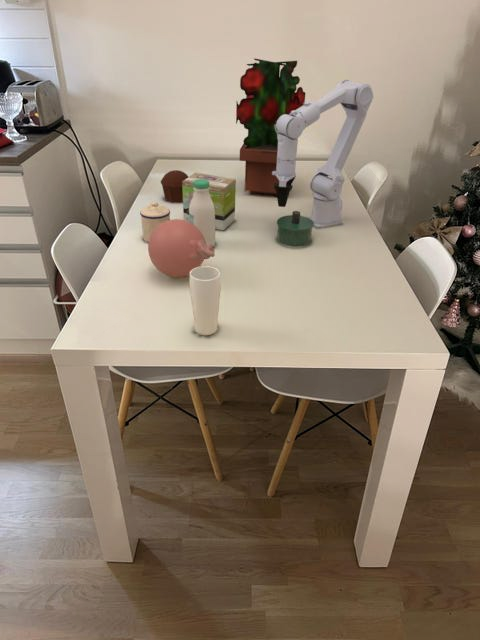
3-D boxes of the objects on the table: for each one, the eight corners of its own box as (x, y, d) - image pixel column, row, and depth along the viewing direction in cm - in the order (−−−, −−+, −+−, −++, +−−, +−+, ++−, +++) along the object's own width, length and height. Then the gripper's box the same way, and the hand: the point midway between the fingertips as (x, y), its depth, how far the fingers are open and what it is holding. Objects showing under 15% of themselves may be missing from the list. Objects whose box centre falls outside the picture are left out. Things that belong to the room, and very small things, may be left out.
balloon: (193, 299, 124) (191, 244, 116) (138, 275, 134) (133, 222, 126) (230, 277, 135) (231, 224, 126) (177, 256, 145) (174, 206, 136)
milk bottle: (218, 241, 153) (218, 178, 142) (209, 252, 147) (208, 187, 136) (196, 238, 155) (194, 175, 144) (186, 248, 149) (183, 183, 138)
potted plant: (234, 197, 185) (237, 64, 160) (244, 179, 203) (247, 57, 178) (293, 202, 183) (305, 67, 157) (297, 183, 201) (308, 59, 175)
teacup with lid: (167, 245, 150) (164, 209, 144) (138, 242, 151) (134, 206, 145) (177, 229, 160) (175, 195, 154) (150, 227, 161) (147, 192, 155)
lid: (314, 220, 156) (316, 207, 153) (312, 234, 147) (314, 221, 144) (279, 216, 157) (279, 204, 155) (274, 231, 148) (275, 217, 146)
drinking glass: (203, 318, 118) (202, 262, 109) (226, 328, 115) (226, 271, 106) (185, 331, 113) (182, 274, 105) (208, 342, 110) (207, 283, 101)
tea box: (182, 223, 164) (180, 180, 156) (196, 213, 172) (195, 171, 164) (224, 231, 160) (224, 187, 151) (235, 220, 167) (236, 177, 159)
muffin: (190, 204, 179) (189, 177, 173) (159, 203, 178) (157, 176, 173) (193, 193, 188) (192, 167, 183) (164, 192, 188) (162, 166, 183)
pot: (311, 235, 158) (313, 218, 155) (309, 249, 150) (311, 232, 147) (279, 232, 160) (280, 215, 157) (275, 246, 151) (276, 228, 148)
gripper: (276, 150, 153) (273, 193, 161) (270, 164, 141) (267, 209, 149) (298, 152, 152) (295, 194, 160) (294, 166, 140) (290, 211, 148)
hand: (283, 202), depth 154 cm, fingers open, 7 cm apart
